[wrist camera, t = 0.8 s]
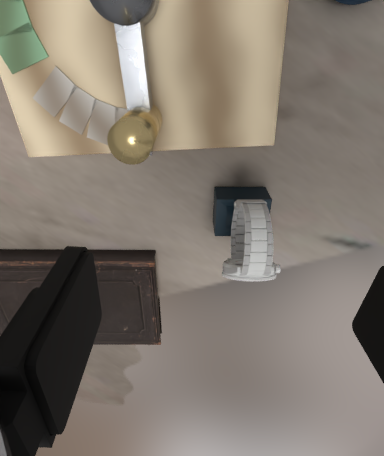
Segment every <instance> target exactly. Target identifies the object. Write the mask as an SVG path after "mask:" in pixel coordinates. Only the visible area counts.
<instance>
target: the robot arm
mask: <svg viewBox="0 0 384 456" xmlns="http://www.w3.org/2000/svg"><path fill="white" fill-rule="evenodd" d="M101 317H102V310H101V303H100V297H99V290H98V283H97V276H96V269H95V263H94V256H93V253H92V252H88V251H87V248H86V247H71V246H67V247H66V248H65V249H64V250H63V252H62V253H61V255H60V256H59V258H58V259H57V261H56V262H55V264H54V266H53V267H52V269H51V270H50V272H49V273H48V275H47V276H46V278H45V279H44V281H43V283H42V284H41V286H40V287H36V288H34V289H32V291H31V292H30V293H29V294H28V296H27V297H26V299H25V300H24V302H23V303H22V305H21V306H20V308H19V309H18V311H17V312H16V314H15V315H14V317H13V318H12V319H11V321H10V322H9V324H8V325H7V327H6V328H5V330H4V331H3V333H2V334H1V336H0V456H35V455H36V451H37V449H38V447H49V448H51V447H52V444H53V442H54V439H55V436H56V434H62V432H63V431H64V429H65V426H66V423H67V420H68V417H69V414H70V411H71V408H72V405H73V402H74V400H75V397H76V394H77V391H78V388H79V385H80V382H81V379H82V376H83V373H84V370H85V367H86V364H87V361H88V358H89V355H90V352H91V349H92V346H93V343H94V340H95V337H96V334H97V331H98V328H99V325H100V322H101ZM352 328H353V331H354V333H355V335H356V337H357V338H358V340H359V342H360V343H361V345H362V347H363V349H364V351H365V352H366V354H367V355H368V357H369V359H370V361H371V363H372V364H373V366H374V368H375V369H376V371H377V372H378V374H379V376H380V378H381V379H382V381H383V383H384V266H382V267H381V268H380V270H379V271H378V273H377V275H376V277H375V279H374V281H373V283H372V285H371V287H370V289H369V291H368V293H367V295H366V297H365V298H364V300H363V302H362V304H361V306H360V308H359V310H358V312H357V314H356V316H355V318H354V320H353V323H352Z"/></svg>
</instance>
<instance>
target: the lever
mask: <svg viewBox="0 0 384 456" xmlns="http://www.w3.org/2000/svg"><path fill="white" fill-rule="evenodd" d="M90 2H91V4H92V6H93V7H94V8H95V10H96V11H97V12H98V13H99V14H100V15H101V16H102V17H103V18H105V19H106V20H108V21H110V22H112V23H114V27H115V33H116V39H117V46H118V52H119V59H120V65H121V72H122V78H123V85H124V91H125V98H126V104H127V111H128V112H127V113H126V114H125V115H124V116H122V117H121V118H120V119H119V120H118V121H117V122H116V123H115V124H114V125H113V126H112V127H111V128H110V130H109V132H108V137H107V142H108V147H109V149H110V151H111V153H112V154H113V155H114V157H115V158H117V159H118V160H119V161H121V162H123V163H126V164H139V163H141V162H143V161H144V160H146V159H147V158H148V156H149V155H152V148H153V146H154V143H155V141H156V138H157V136H158V133H159V131H160V128H161V126H162V115H161V112H160V111H159V109H158V108H157V107H156V106H155V105H154V104H153V103H152V94H151V85H150V76H149V67H148V58H147V49H146V40H145V31H144V26H145V25H147V24H148V23H149V22H150V21H151V20H152V19H153V17H154V15H155V14H156V11H157V9H158V5H159V0H90Z"/></svg>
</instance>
